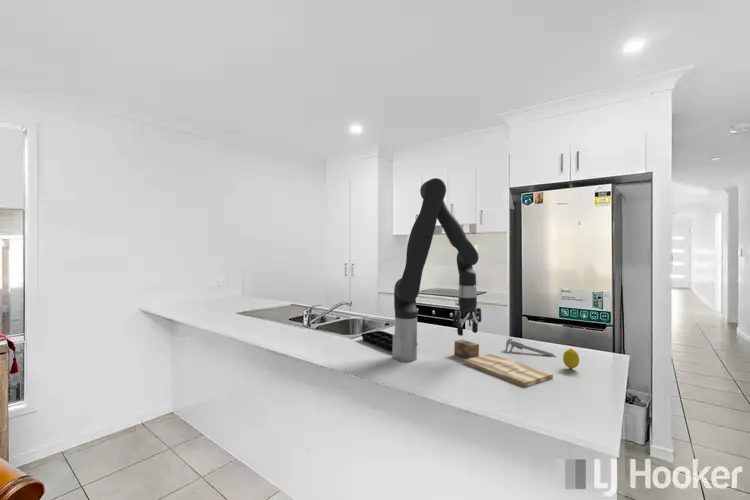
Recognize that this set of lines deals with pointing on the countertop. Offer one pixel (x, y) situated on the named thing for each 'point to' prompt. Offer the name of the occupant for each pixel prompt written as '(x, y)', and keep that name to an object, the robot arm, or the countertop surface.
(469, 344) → the block
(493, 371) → the plywood board
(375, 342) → the egg carton
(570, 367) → the lemon
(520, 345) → the caliper
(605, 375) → the countertop surface
